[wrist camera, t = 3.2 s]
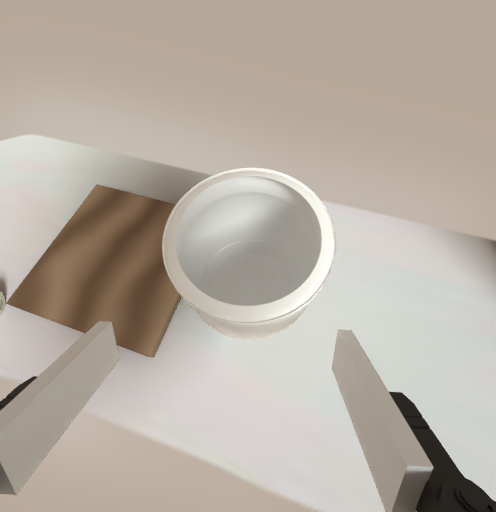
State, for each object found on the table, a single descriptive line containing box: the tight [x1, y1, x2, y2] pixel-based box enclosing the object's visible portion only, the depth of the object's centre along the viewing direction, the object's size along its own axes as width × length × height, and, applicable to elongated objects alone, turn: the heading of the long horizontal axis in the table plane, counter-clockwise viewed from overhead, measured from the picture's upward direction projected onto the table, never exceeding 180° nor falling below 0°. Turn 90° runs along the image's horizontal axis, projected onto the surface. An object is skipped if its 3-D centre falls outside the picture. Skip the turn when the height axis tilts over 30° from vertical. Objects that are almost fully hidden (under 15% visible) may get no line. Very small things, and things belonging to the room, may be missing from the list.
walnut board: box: [6, 185, 181, 357], centre depth 29 cm, size 18×18×2 cm
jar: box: [162, 168, 336, 340], centre depth 21 cm, size 11×10×15 cm
